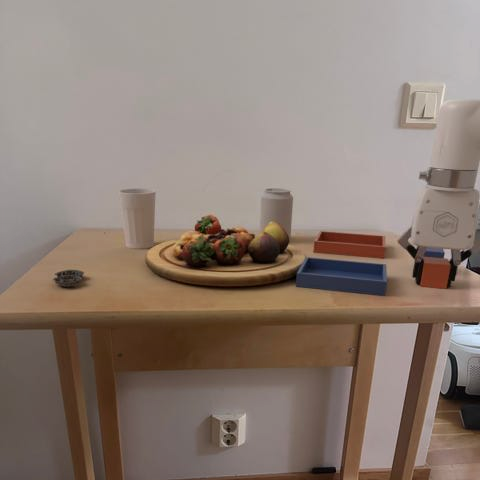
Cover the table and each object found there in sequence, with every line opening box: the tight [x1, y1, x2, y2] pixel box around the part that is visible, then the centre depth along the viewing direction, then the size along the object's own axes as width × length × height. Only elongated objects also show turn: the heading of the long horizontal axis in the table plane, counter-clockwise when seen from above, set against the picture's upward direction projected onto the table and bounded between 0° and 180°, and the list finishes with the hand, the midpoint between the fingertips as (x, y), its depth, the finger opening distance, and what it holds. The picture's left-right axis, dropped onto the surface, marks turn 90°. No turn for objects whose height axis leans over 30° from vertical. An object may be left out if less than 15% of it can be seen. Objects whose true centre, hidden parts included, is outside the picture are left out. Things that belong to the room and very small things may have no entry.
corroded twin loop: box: [52, 269, 85, 288], centre depth 85 cm, size 5×8×1 cm, turn 12°
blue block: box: [423, 247, 446, 259], centre depth 96 cm, size 4×4×4 cm
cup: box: [117, 188, 156, 250], centre depth 108 cm, size 8×8×12 cm
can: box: [259, 187, 294, 239], centre depth 116 cm, size 8×8×12 cm
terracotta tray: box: [312, 230, 387, 259], centre depth 111 cm, size 15×11×2 cm
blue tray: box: [295, 256, 388, 297], centre depth 88 cm, size 15×11×2 cm
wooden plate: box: [144, 214, 306, 287], centre depth 96 cm, size 32×32×8 cm
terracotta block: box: [419, 257, 451, 290], centre depth 88 cm, size 4×4×4 cm
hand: (432, 282), depth 89 cm, fingers closed on terracotta block, 4 cm apart
